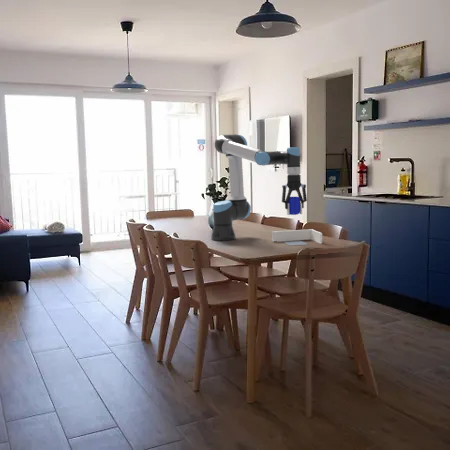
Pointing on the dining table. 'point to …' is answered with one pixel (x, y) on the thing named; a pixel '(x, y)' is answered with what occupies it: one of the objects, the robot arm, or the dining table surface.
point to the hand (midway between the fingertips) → (294, 214)
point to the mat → (295, 243)
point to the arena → (297, 235)
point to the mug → (294, 205)
